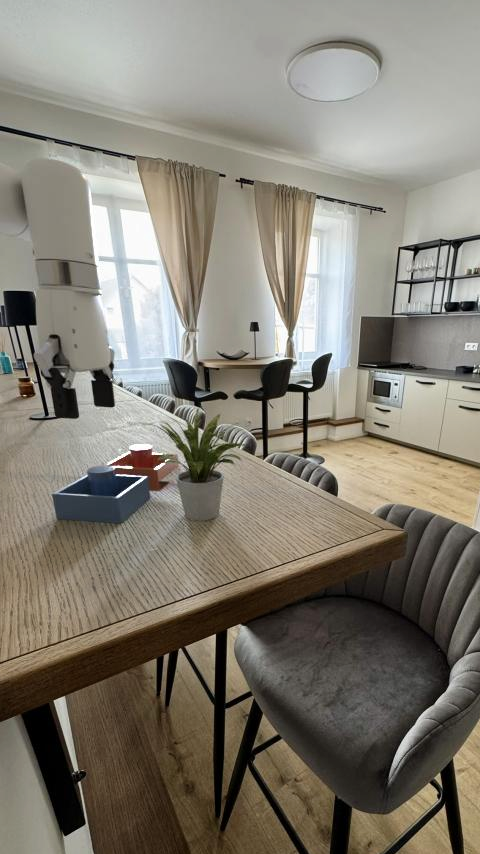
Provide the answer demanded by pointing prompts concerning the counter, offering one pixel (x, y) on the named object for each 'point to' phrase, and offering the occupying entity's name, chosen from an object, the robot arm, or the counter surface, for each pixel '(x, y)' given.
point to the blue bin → (101, 500)
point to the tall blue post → (103, 481)
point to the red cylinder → (142, 456)
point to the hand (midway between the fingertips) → (87, 411)
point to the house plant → (200, 469)
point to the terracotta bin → (146, 469)
